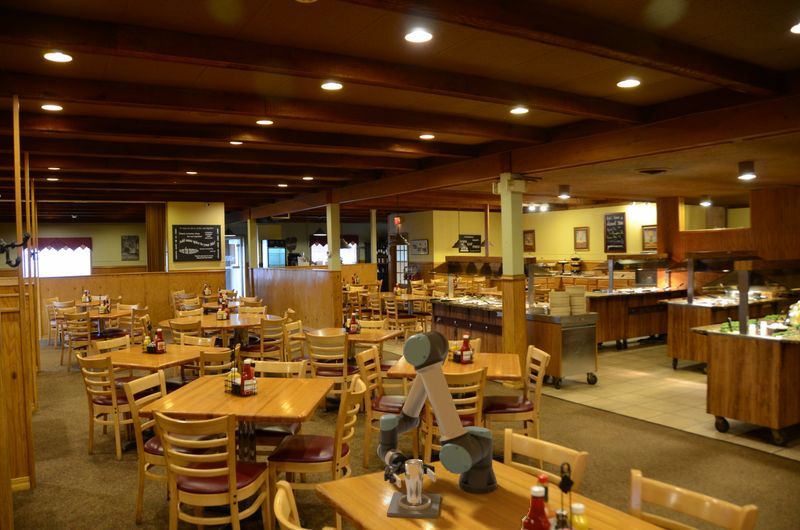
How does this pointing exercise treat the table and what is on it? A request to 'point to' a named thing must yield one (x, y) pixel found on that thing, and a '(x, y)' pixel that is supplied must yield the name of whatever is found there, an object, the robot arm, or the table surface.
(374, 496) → the table surface
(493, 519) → the table surface
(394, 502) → the coaster board
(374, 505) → the table surface
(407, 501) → the beer glass
